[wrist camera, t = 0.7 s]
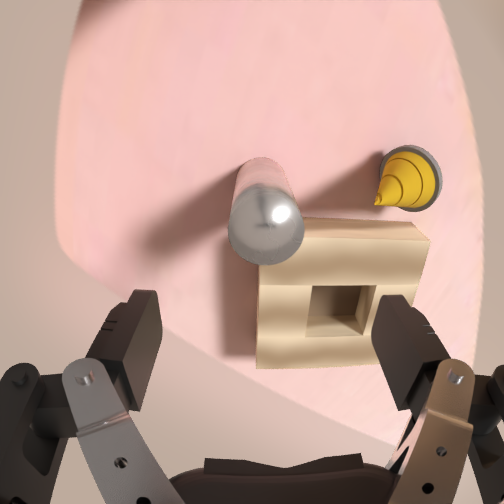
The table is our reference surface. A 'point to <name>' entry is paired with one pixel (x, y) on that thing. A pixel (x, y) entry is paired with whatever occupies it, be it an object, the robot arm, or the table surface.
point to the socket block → (334, 292)
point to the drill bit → (409, 179)
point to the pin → (264, 214)
